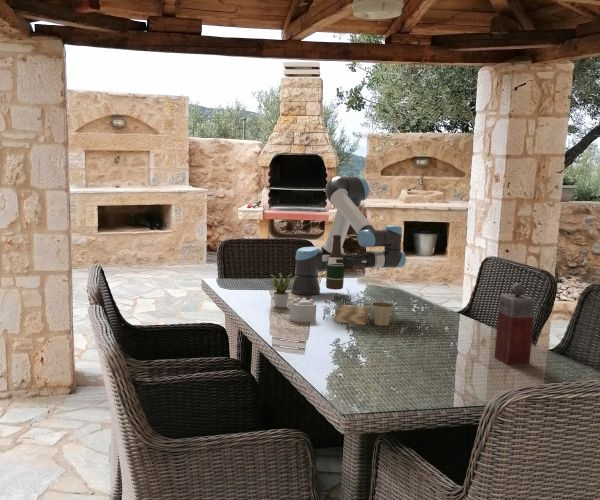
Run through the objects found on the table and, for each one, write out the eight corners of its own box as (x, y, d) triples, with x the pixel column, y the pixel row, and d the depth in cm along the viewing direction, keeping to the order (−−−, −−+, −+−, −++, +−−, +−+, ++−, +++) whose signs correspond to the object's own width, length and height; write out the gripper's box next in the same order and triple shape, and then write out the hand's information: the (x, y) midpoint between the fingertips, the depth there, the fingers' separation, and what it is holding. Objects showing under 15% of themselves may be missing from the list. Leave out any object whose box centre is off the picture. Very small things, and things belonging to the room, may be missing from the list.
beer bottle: (343, 290, 296) (346, 236, 293) (325, 289, 296) (328, 235, 293) (342, 286, 303) (345, 234, 300) (325, 286, 303) (328, 233, 300)
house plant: (300, 304, 316) (301, 270, 314) (297, 310, 302) (298, 274, 300) (270, 302, 317) (271, 268, 315) (266, 308, 303) (267, 272, 301)
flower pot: (391, 328, 277) (393, 307, 276) (369, 325, 279) (370, 305, 278) (393, 323, 287) (394, 303, 285) (371, 320, 288) (372, 301, 287)
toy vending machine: (512, 355, 245) (519, 280, 241) (529, 364, 234) (537, 285, 230) (490, 355, 243) (497, 279, 239) (506, 364, 232) (513, 285, 228)
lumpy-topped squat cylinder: (294, 322, 279) (295, 302, 278) (286, 315, 291) (287, 296, 290) (317, 322, 282) (319, 302, 281) (308, 315, 294) (309, 295, 293)
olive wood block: (334, 321, 283) (335, 310, 283) (339, 315, 296) (339, 304, 295) (365, 324, 281) (366, 313, 280) (368, 318, 293) (369, 307, 293)
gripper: (381, 271, 295) (333, 271, 287) (363, 264, 313) (317, 264, 306) (382, 254, 294) (334, 254, 286) (364, 248, 312) (318, 248, 305)
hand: (325, 259), depth 296 cm, fingers closed on beer bottle, 7 cm apart
